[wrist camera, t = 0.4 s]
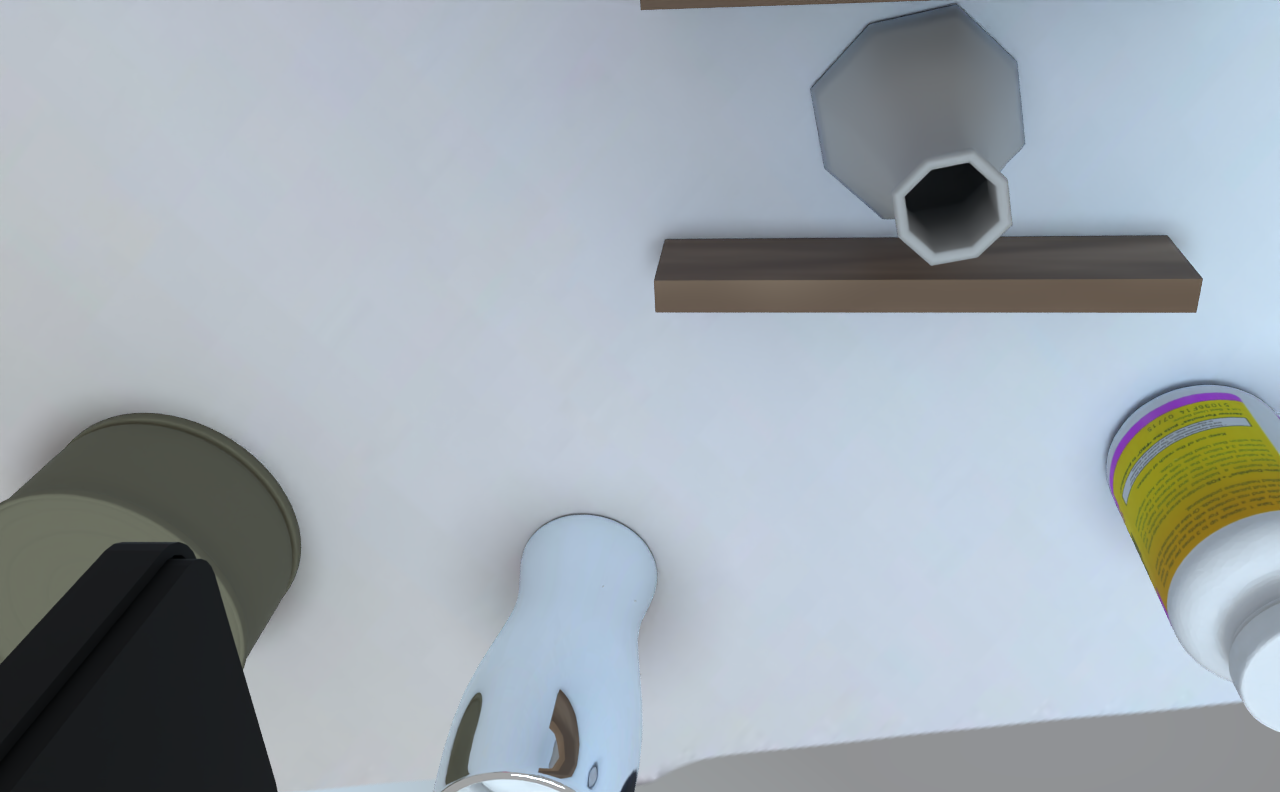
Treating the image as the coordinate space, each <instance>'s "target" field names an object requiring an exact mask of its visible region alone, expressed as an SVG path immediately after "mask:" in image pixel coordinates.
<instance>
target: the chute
mask: <svg viewBox="0 0 1280 792" xmlns="http://www.w3.org/2000/svg"><path fill="white" fill-rule="evenodd" d="M898 1H928V0H640V4H641V10H654V9H684V8H715V7H745V6H776V5H806V4H837V3H867V2H898ZM1202 281H1203V278H1202V277H1201V276H1200V275H1199V274H1198V272H1197V271H1196V270H1195V269H1194V267H1193V266H1192V265H1191V264H1190V263H1189V261H1188V260H1187V259H1186V258H1185V256H1184V255H1183V254H1182V253H1181V251H1180V250H1179V249H1178V248H1177V247H1176V245H1175V244H1174V243H1173V242H1172V240H1171V239H1170V238H1169V237H1168V236H1050V237H999V238H998V239H997V240H996V241H995V242H994V243H993V244H991V245H990V246H989V247H988V248H987V249H986V250H985V251H984V252H983V253H982V254H981V255H980V256H979V257H977V258H972V259H966V260H961V261H955V262H950V263H944V264H939V265H933V266H931V265H930V264H929V263H927V262H926V261H925V260H924V259H923V258H922V257H920V256H919V255H918V254H917V253H916V252H915V251H914V250H912V249H911V248H910V247H909V246H908V245H907V244H906V243H904V242H903V241H902V240H901V239H900V238H790V239H665V241H664V245H663V249H662V253H661V256H660V260H659V264H658V268H657V271H656V275H655V279H654V291H655V311H656V312H1097V313H1196V311H1197V306H1198V301H1199V296H1200V291H1201V286H1202Z"/></svg>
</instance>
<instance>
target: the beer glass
mask: <svg viewBox="0 0 1280 792" xmlns="http://www.w3.org/2000/svg"><path fill="white" fill-rule="evenodd" d="M656 585H657V569H656V564H655V561H654V558H653V555H652V553H651V551H650V550H649V548H648V547H647V545H646V544H645V543H644V541H643V540H642V539H641V538H640V537H639V536H638V535H637V534H636V533H634V532H633V531H632V530H630V529H629V528H627V527H626V526H624V525H622V524H620V523H618V522H616V521H614V520H611V519H608V518H605V517H601V516H595V515H584V514H579V515H569V516H564V517H561V518H558V519H555V520H553V521H551V522H549V523H547V524H545V525H544V526H542V527H541V528H540V529H538V530H537V531H536V532H535V533H534V534H533V536H532V537H531V538H530V540H529V541H528V543H527V544H526V546H525V549H524V551H523V555H522V559H521V565H520V582H519V594H518V598H517V602H516V604H515V607H514V609H513V611H512V613H511V615H510V616H509V618H508V620H507V621H506V623H505V625H504V626H503V628H502V629H501V631H500V632H499V634H498V635H497V637H496V638H495V640H494V642H493V643H492V645H491V646H490V648H489V649H488V651H487V653H486V654H485V656H484V657H483V659H482V661H481V662H480V664H479V666H478V667H477V669H476V671H475V673H474V675H473V677H472V678H471V680H470V682H469V684H468V686H467V688H466V689H465V691H464V694H463V696H462V699H461V701H460V704H459V706H458V709H457V711H456V713H455V716H454V718H453V721H452V724H451V727H450V730H449V734H448V737H447V740H446V743H445V747H444V750H443V753H442V757H441V761H440V765H439V769H438V773H437V777H436V782H435V786H434V791H433V792H634V791H635V786H636V781H637V776H638V770H639V763H640V754H641V745H642V694H641V680H640V668H639V656H638V636H639V630H640V625H641V623H642V620H643V618H644V616H645V614H646V612H647V610H648V608H649V605H650V603H651V601H652V599H653V596H654V593H655V590H656Z"/></svg>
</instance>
